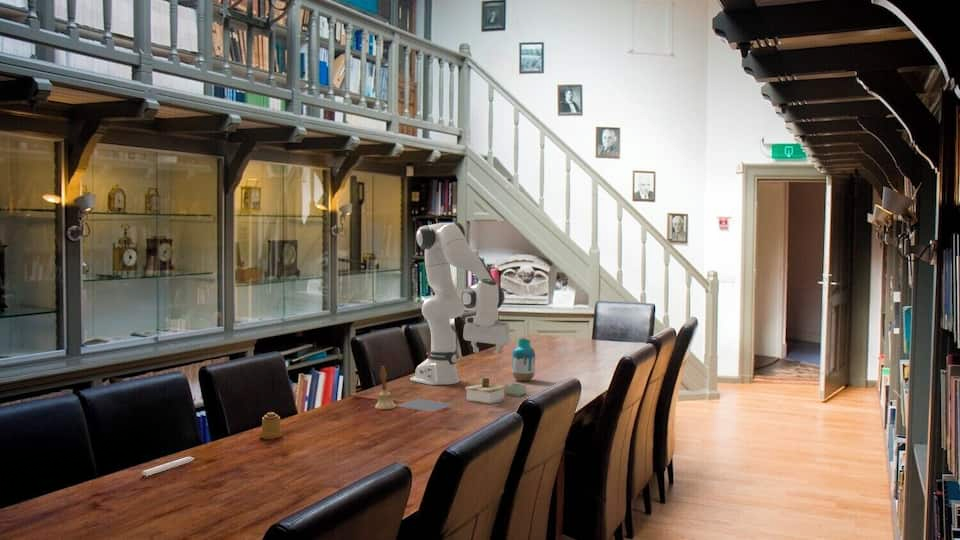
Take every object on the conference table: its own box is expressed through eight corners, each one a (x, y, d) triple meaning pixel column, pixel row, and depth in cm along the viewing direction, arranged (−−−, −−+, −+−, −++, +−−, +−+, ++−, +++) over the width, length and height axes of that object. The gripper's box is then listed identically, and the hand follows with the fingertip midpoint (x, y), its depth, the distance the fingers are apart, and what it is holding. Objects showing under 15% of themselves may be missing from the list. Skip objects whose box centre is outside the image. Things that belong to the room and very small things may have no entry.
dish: (466, 401, 325) (466, 389, 325) (481, 396, 335) (481, 384, 334) (489, 405, 320) (490, 392, 319) (504, 400, 329) (504, 387, 329)
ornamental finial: (283, 439, 265) (259, 440, 263) (282, 433, 273) (259, 434, 271) (283, 415, 265) (259, 416, 263) (282, 410, 272) (259, 411, 270)
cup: (506, 394, 339) (506, 385, 339) (513, 392, 344) (513, 383, 344) (518, 396, 336) (518, 387, 336) (525, 394, 341) (525, 384, 341)
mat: (394, 406, 314) (394, 405, 314) (418, 399, 327) (418, 398, 327) (432, 413, 304) (432, 411, 304) (455, 405, 318) (455, 404, 318)
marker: (191, 461, 240) (191, 453, 240) (196, 462, 239) (196, 454, 239) (140, 477, 224) (140, 469, 224) (146, 479, 223) (146, 470, 223)
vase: (535, 383, 365) (536, 341, 364) (511, 382, 365) (512, 340, 364) (534, 378, 376) (535, 337, 374) (511, 378, 376) (512, 337, 375)
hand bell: (392, 409, 308) (390, 368, 306) (371, 409, 309) (369, 368, 308) (399, 404, 316) (396, 364, 314) (378, 404, 317) (376, 364, 316)
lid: (464, 389, 325) (465, 379, 325) (480, 384, 335) (480, 374, 335) (490, 392, 319) (490, 382, 318) (505, 387, 329) (505, 378, 329)
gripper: (513, 321, 323) (512, 355, 324) (470, 316, 333) (469, 349, 334) (505, 323, 317) (504, 358, 318) (461, 318, 328) (460, 351, 329)
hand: (485, 353), depth 326 cm, fingers open, 8 cm apart
